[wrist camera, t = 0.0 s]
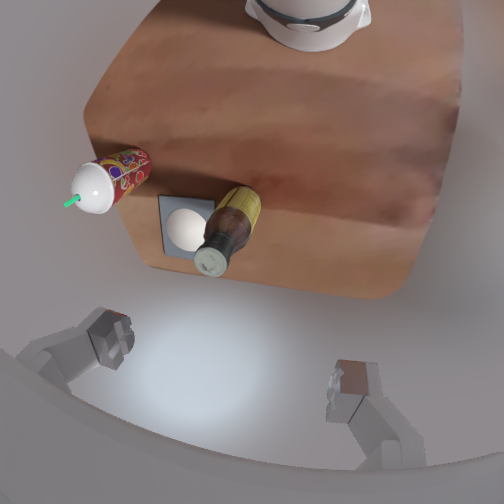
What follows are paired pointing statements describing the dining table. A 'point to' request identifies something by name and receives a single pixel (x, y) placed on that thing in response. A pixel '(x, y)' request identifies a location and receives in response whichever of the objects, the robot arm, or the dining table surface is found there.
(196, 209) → the card
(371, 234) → the dining table surface
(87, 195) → the smoothie
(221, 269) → the sauce bottle
